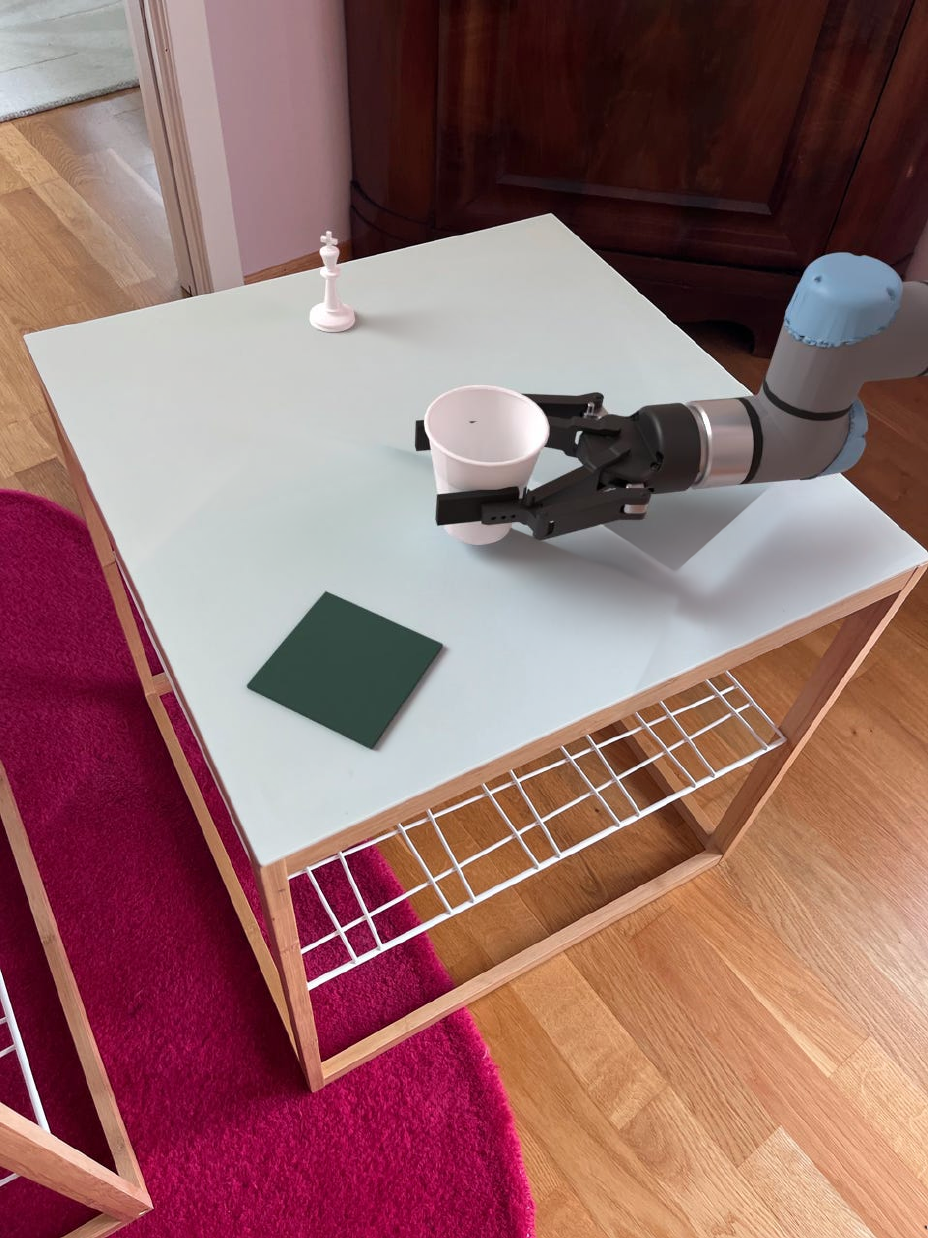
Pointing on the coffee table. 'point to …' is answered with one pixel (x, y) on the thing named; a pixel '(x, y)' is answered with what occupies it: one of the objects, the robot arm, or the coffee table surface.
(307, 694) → the mat
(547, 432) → the cup
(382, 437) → the coffee table surface
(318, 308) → the chess piece
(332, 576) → the coffee table surface
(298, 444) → the coffee table surface
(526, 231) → the coffee table surface
